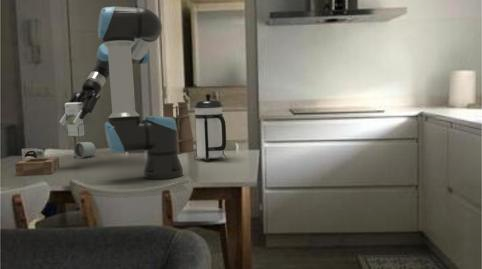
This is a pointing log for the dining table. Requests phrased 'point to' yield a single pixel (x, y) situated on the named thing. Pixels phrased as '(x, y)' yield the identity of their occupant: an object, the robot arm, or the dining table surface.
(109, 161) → the dining table surface
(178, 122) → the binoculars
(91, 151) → the grey cylinder
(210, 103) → the coffee press
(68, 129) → the syrup box
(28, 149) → the mug
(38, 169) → the holder block
